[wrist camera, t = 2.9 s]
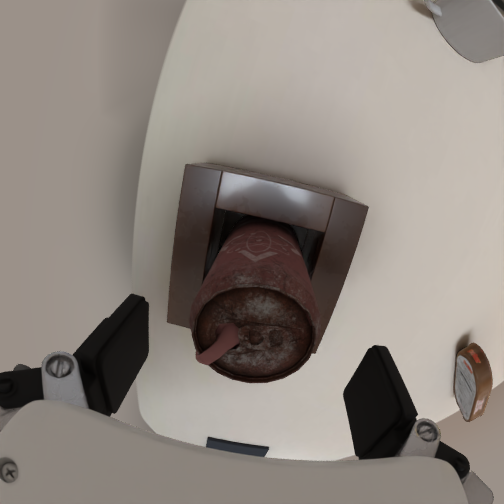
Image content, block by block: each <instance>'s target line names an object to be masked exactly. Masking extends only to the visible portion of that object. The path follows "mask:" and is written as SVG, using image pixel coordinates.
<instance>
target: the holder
mask: <svg viewBox="0 0 504 504" xmlns="http://www.w3.org/2000/svg"><path fill="white" fill-rule="evenodd" d="M368 208H369V207H368V206H366V205H364V204H362V203H361V202H359V201H357V200H355V199H353V198H351V197H349V196H347V195H344V194H341V193H337V192H334V191H330V190H326V189H323V188H319V187H315V186H312V185H308V184H304V183H300V182H296V181H292V180H288V179H283V178H279V177H275V176H271V175H266V174H262V173H257V172H252V171H247V170H243V169H238V168H233V167H227V166H222V165H217V164H211V163H195V164H186V165H185V170H184V176H183V182H182V188H181V194H180V201H179V208H178V215H177V222H176V230H175V237H174V246H173V255H172V264H171V275H170V286H169V299H168V314H167V322H168V323H171V324H175V325H179V326H182V327H186V328H190V324H189V319H190V312H191V305H192V303H193V301H194V299H195V298H196V296H197V294H198V292H199V290H200V288H201V286H202V284H203V282H204V280H205V278H206V276H207V274H208V273H209V271H210V269H211V267H212V265H213V263H214V261H215V259H216V257H217V254H218V249H219V243H220V238H221V232H222V227H223V222H224V216H225V211H226V210H228V211H233V212H238V213H242V214H247V215H251V216H256V217H260V218H265V219H269V220H274V221H278V222H282V223H287V224H291V225H295V226H299V227H303V228H308V232H307V236H306V239H305V243H304V247H303V250H302V256H303V259H304V262H305V265H306V269H307V272H308V275H309V278H310V281H311V285H312V288H313V291H314V295H315V298H316V301H317V305H318V308H319V311H320V315H321V329H320V335H319V338H318V340H317V342H316V344H315V347H314V349H313V352H312V353H314V354H315V353H316V351H317V349H318V346H319V344H320V342H321V339H322V337H323V335H324V332H325V330H326V328H327V325H328V323H329V321H330V318H331V316H332V313H333V311H334V308H335V306H336V303H337V301H338V298H339V295H340V293H341V290H342V287H343V285H344V282H345V279H346V276H347V274H348V271H349V268H350V265H351V262H352V259H353V256H354V253H355V250H356V247H357V244H358V241H359V238H360V235H361V232H362V228H363V225H364V222H365V218H366V215H367V211H368ZM190 329H191V328H190Z"/></svg>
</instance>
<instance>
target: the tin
mask: <svg viewBox="0 0 504 504" xmlns="http://www.w3.org/2000/svg"><path fill="white" fill-rule="evenodd" d="M492 385H493V379H492V371H491V367H490V364H489V361H488V359H487V357H486V355H485V353H484V351H483V350H482V349H481V347H480V346H478V345H477V344H476V343H471V344H470V345H469V346H467V347H466V348H464V349H462V350H461V351H459V352H458V354H457V356H456V367H455V379H454V393H455V398H456V402H457V404H458V406H459V408H460V410H461V413H462V415H463V418H464V420H465V421H466V422H470V421H472V420H474V419H476V418H477V417H479V416H482V415H483V413H484V410H485V407H486V405H487V402H488V399H489V396H490V393H491V390H492Z"/></svg>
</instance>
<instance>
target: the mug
mask: <svg viewBox="0 0 504 504" xmlns="http://www.w3.org/2000/svg"><path fill="white" fill-rule="evenodd" d="M424 1H425V4H426V7H427V8H428V9H429V10H430V11H431V12H432V13H433V17H434V21H435V23H436V25H437V27H438V29H439V30H440V32H441V33H442V35H443V36H444V38H445V39H446V40H447V42H448V43H449V44H450V45H451V46H452V47H453V48H454V49H455V50H456V51H457V52H458V53H459V54H461V55H462V56H463V57H465V58H467V59H468V60H470V61H473V62H477V63H481V62H484V61H488V60H491V59H494V58H497V57H501V56H504V0H437V1H436V2H435V3H433V2H432V1H431V0H424Z"/></svg>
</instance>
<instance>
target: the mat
mask: <svg viewBox="0 0 504 504" xmlns="http://www.w3.org/2000/svg"><path fill="white" fill-rule="evenodd" d="M206 447H207V448H212V449H216V450H221V451H227V452H232V453H238V454H244V455H251V456H259V457H264V456H265V455H266V453H267V452H268V450H269V447H264V446H256V445H249V444H242V443H236V442H230V441H225V440H220V439H215V438H210V437H208V440H207V444H206Z"/></svg>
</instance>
